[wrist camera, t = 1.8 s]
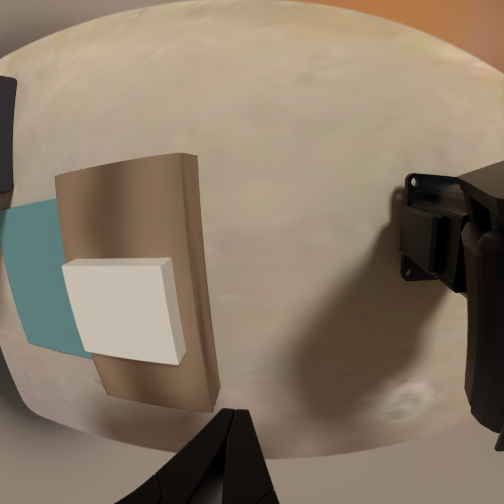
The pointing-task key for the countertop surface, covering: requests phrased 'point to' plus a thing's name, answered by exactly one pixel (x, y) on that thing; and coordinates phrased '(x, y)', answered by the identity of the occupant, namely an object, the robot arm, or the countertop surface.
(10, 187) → the calculator
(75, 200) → the wooden board
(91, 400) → the countertop surface
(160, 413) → the countertop surface
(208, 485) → the robot arm
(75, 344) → the mat
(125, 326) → the tile
